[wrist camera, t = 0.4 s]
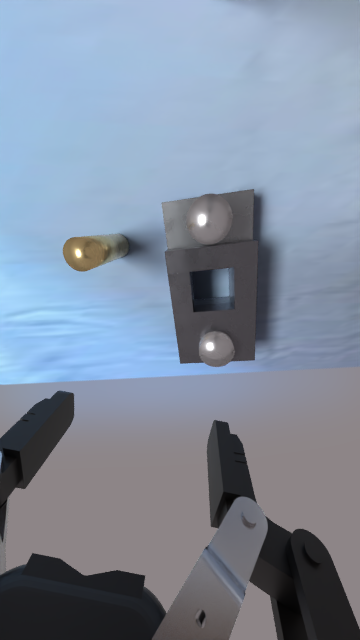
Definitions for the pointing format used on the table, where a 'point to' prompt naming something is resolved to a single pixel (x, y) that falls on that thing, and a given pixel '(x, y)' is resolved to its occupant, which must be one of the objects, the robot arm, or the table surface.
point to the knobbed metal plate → (207, 254)
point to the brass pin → (94, 250)
